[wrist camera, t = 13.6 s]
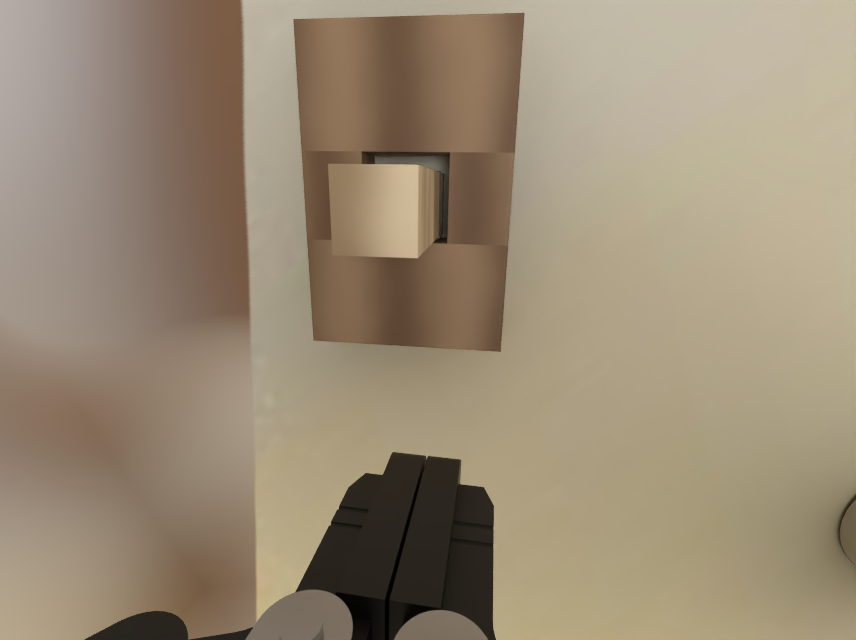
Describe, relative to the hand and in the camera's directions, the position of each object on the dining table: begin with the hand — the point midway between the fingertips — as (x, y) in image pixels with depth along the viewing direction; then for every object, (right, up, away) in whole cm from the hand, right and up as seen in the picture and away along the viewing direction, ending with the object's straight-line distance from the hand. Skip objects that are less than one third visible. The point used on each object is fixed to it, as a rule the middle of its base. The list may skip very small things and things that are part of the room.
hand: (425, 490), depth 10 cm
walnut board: (-1, +12, +18) cm, 22 cm away
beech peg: (-1, +11, +18) cm, 21 cm away
